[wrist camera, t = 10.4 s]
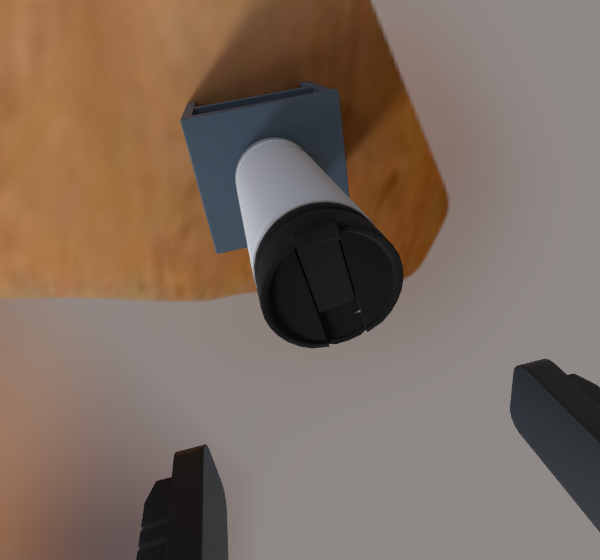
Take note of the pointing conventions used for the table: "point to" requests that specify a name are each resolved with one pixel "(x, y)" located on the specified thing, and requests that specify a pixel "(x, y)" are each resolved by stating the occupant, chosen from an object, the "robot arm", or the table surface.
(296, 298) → the travel mug
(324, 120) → the shelf
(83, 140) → the table surface
